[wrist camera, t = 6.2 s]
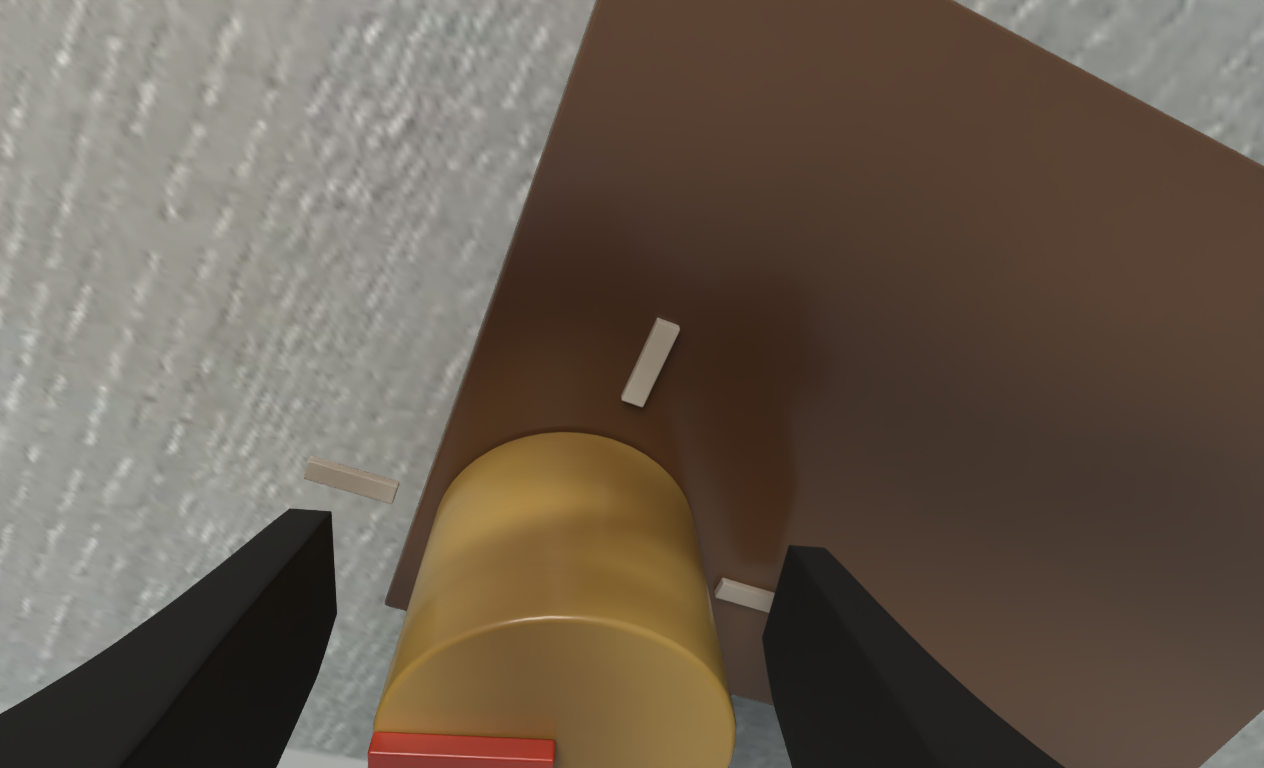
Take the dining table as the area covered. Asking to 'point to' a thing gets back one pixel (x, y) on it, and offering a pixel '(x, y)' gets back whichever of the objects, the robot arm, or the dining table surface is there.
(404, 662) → the knob
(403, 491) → the dining table surface
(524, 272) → the knob panel
